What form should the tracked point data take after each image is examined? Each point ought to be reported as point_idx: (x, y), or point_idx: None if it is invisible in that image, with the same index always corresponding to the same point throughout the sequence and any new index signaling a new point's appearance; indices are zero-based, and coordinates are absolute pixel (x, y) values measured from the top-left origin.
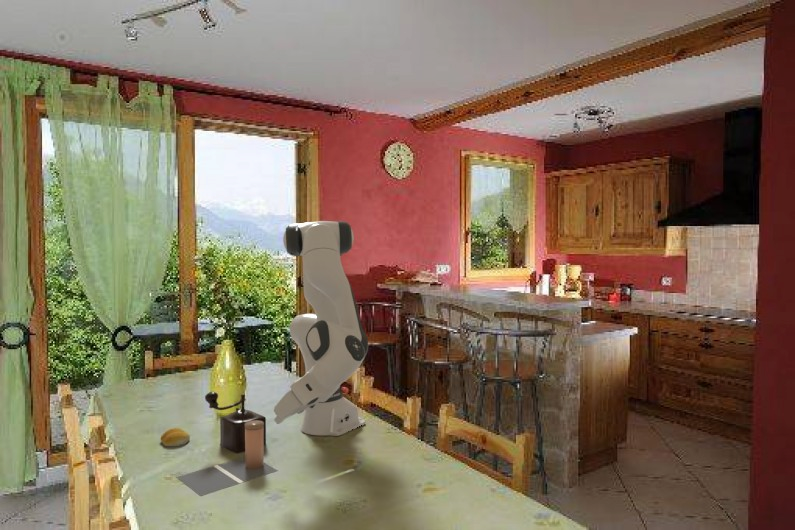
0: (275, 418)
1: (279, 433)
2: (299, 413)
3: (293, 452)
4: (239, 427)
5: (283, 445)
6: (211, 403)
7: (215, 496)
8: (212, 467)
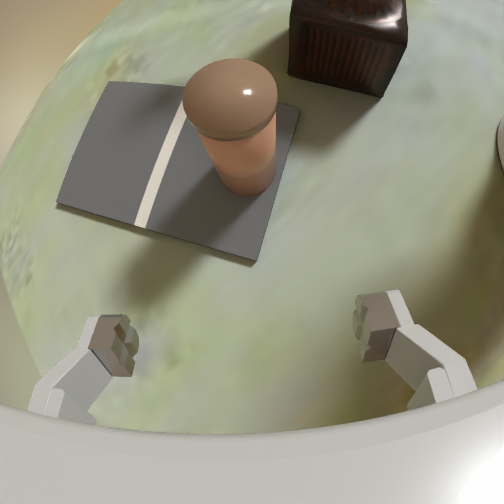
0: (86, 325)
1: (455, 83)
2: (355, 332)
3: (401, 195)
4: (299, 23)
5: (417, 136)
6: None
7: (75, 222)
8: (180, 91)
